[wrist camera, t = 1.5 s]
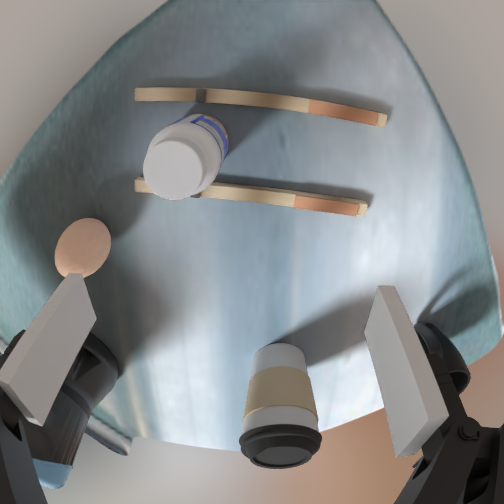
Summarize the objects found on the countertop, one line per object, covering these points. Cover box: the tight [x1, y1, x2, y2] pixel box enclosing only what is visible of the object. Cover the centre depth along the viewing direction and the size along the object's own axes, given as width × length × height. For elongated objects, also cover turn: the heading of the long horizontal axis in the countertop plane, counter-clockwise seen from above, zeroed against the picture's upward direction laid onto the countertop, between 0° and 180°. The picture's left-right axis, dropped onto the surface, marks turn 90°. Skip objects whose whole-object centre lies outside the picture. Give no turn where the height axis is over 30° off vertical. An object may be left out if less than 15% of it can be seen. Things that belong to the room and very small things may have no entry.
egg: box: [55, 218, 111, 278], centre depth 29 cm, size 5×5×8 cm
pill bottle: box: [143, 114, 229, 200], centre depth 24 cm, size 5×5×10 cm
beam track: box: [134, 87, 387, 216], centre depth 27 cm, size 22×10×1 cm, turn 84°
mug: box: [414, 323, 471, 395], centre depth 34 cm, size 8×12×10 cm
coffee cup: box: [239, 343, 322, 469], centre depth 35 cm, size 9×9×15 cm
